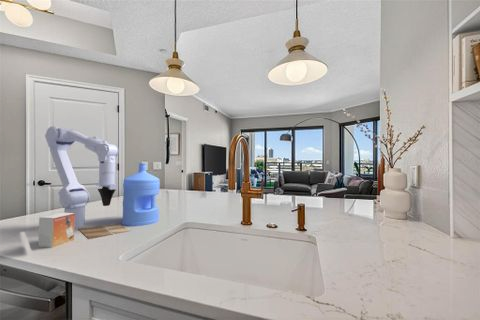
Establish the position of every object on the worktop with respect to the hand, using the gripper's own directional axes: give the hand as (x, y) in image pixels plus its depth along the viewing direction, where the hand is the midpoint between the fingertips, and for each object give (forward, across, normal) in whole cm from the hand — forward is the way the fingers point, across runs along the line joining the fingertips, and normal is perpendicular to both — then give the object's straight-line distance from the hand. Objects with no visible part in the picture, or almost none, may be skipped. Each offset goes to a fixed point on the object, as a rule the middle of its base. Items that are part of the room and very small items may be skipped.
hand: (106, 205), depth 95 cm
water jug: (+11, -1, +15) cm, 18 cm away
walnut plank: (+10, +3, -4) cm, 12 cm away
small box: (+11, +8, -17) cm, 22 cm away
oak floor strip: (+10, +3, +3) cm, 11 cm away
